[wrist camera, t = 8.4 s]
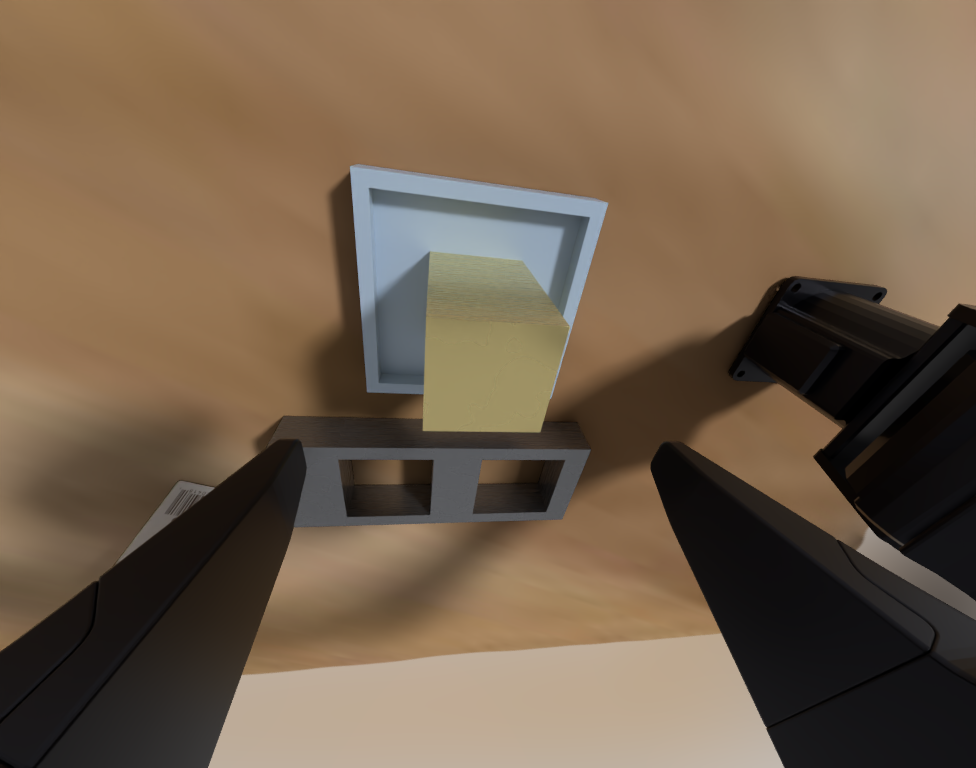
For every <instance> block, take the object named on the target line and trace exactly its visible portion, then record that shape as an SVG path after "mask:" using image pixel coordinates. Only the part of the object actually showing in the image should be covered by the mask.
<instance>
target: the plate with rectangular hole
mask: <svg viewBox="0 0 976 768" xmlns="http://www.w3.org/2000/svg"><path fill="white" fill-rule="evenodd" d="M282 438H291V439H299V440H300V441H301V443H302V447H303V451H304V455H305V460H306V465H307V471H306V477H305V481H304V485H303V489H302V494H301V498H300V502H299V506H298V511H297V515H296V519H295V523H294V527H321V526H355V525H389V524H422V523H456V522H490V521H524V520H557V519H563V516H564V514H565V511H566V509H567V506H568V504H569V502H570V499H571V497H572V494H573V492H574V490H575V487H576V485H577V482H578V480H579V477H580V475H581V473H582V470H583V468H584V465H585V463H586V461H587V458H588V456H589V453H590V451H591V449H590V447H589V445H588V443H587V441H586V439H585V437H584V435H583V433H582V431H581V429H580V427H579V425H578V423H577V422H543V425H542V428H541V432H464V431H423V419H396V418H351V417H306V416H283V418H282V420H281V422H280V424H279V425H278V427H277V429H276V431H275V433H274V434H273V436H272V438H271V440H270V442H269V443H268V445H267V447H269V446H270V445H271V444H272V443H274V442H275V441H276V440H278V439H282ZM351 460H432V473H431V485H354V477H353V469H352V461H351ZM482 460H545V463H544V466H543V469H542V472H541V475H540V478H539V481H538V483H527V484H478V480H479V474H480V468H481V463H482Z"/></svg>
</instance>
